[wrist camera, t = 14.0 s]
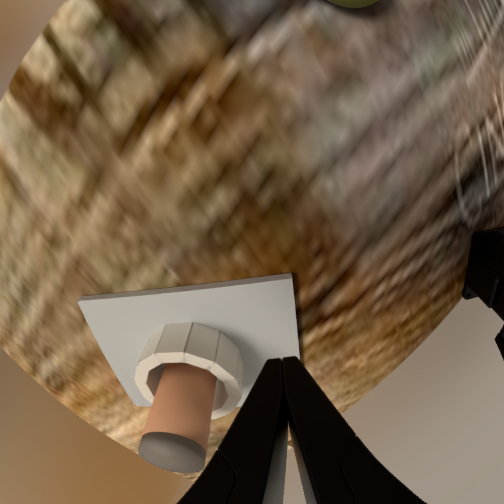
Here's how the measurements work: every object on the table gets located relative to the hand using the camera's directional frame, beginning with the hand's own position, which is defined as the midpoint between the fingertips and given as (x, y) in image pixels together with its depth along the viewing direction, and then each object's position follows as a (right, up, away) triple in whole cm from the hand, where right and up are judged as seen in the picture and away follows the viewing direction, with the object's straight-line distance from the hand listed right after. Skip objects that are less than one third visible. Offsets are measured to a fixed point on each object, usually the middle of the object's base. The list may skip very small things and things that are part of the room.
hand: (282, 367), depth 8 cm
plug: (-6, -6, +16) cm, 18 cm away
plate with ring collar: (-6, -6, +17) cm, 19 cm away
